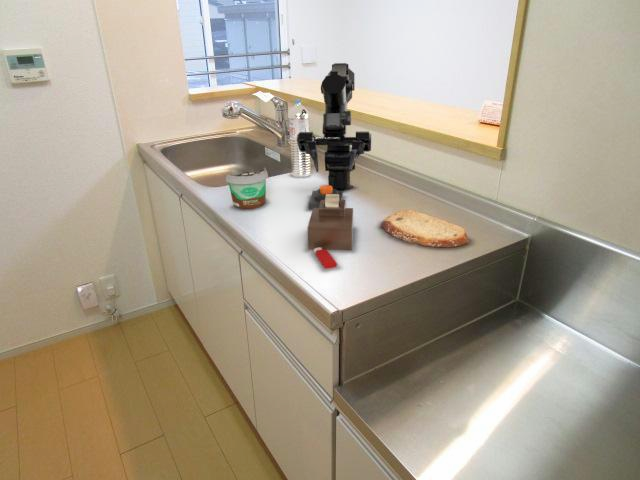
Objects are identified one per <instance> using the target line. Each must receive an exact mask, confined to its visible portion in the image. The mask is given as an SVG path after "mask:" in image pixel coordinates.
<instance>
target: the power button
mask: <svg viewBox="0 0 640 480" xmlns="http://www.w3.org/2000/svg"><path fill="white" fill-rule="evenodd" d="M319 189H320V194H331V193H332V186H330V185H328V184H323V185H320V186H319Z"/></svg>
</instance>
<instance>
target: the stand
mask: <svg viewBox="0 0 640 480" xmlns="http://www.w3.org/2000/svg"><path fill="white" fill-rule="evenodd" d="M353 234H354V208H353V207H346V199H342V200H339V207H325V200H321V202H320V206H319V208H313V210H311V214H310V216H309V221H308V225H307V247H308V248H307V249H308V251H309V250H311V251H314V249H315V248H319V247H320V248H325V249H326V250H327V251H353V237H354V235H353Z"/></svg>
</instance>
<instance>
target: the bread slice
mask: <svg viewBox="0 0 640 480" xmlns="http://www.w3.org/2000/svg"><path fill="white" fill-rule="evenodd" d="M380 227H381V228H383V229H384V230H385V232H386V233H387V234H389V235H390V236H391V237H393V238H396V239H399V240H401V241H404V242H407V243H409V244H410V243H411V244H418V245H421V246H425V247H432V248H434V247H435V248H455V247H460V246H464V245H466V244H468V243H469V237H468V234H467V231H466V230H465V228H464V227H461V226H459V225H457V224H455V223H451V222H449V221H447V220H444V219H442V218H438V217H435V216H431V215H428V214H425V213H421V212H417V211H415V210H411V209H405V210H404V209H403V210H400V211H396V212H394V213H393V214H390V215H388V216H387V217H386V218H385V219H383V221H382V222H381V224H380Z"/></svg>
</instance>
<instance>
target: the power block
mask: <svg viewBox="0 0 640 480" xmlns="http://www.w3.org/2000/svg"><path fill="white" fill-rule="evenodd" d="M331 194H339V200H344V199H343V197H344V191H337V190H336V189H332V193H331ZM325 197H326V194H320V188H318V189H316V190H312V192H311V196H310V198H309V202H308V210H309V211H312V210H313V208H319V206H320V202H321V200H325Z"/></svg>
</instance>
